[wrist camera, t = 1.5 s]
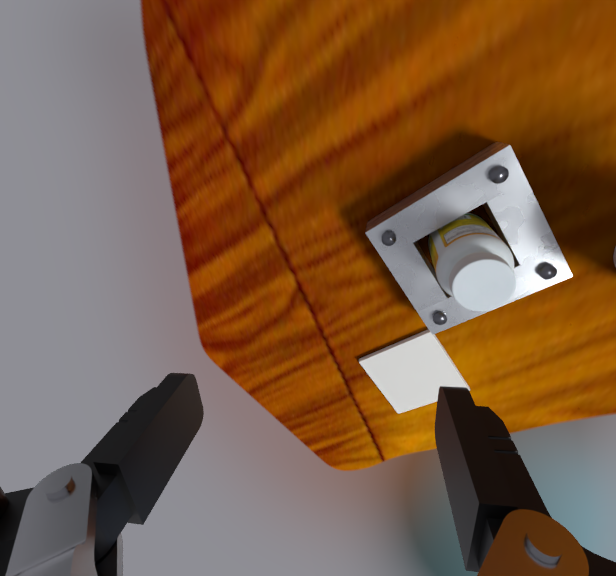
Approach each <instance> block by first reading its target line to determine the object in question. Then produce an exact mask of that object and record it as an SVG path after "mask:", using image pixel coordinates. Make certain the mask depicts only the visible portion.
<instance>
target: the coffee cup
mask: <svg viewBox="0 0 616 576" xmlns="http://www.w3.org/2000/svg"><path fill="white" fill-rule="evenodd" d="M613 260H614V265H615V267H616V247H615V250H614V255H613Z"/></svg>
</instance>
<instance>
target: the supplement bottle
mask: <svg viewBox="0 0 616 576" xmlns="http://www.w3.org/2000/svg"><path fill="white" fill-rule="evenodd" d="M428 246H429V251H430V255H431V258H432V262H433V265H434V269H435V272H436V276H437V279H438V282H439V284H440V285H441V287H442V288H443V290H444V291H445V292H447V293H448V294H449V295H451V296H452V297H454V299H455V300H456V301H457V302H458V303H459V304H460V305H461V306H463V307H464V308H466V309H469V310H472V311H489V310H493V309H496V308H498V307H500V306H502V305H503V304H505V303H506V302H507V301H508V300H509V299H510V298H511V296H512V295H513V293H514V291H515V288H516V277H515V274H514V259H513V255H512V253H511V251H510V249H509V248H508V246H507V245H506V244H505V243H504V242H503V241H502V240H501V239H500V237H499V236H498V235H497V234H496V233H495V232H494V231H493V230H492V229H491V228H490V226H489V225H488V224H487V223H486V222H485V221H484V220H483V219H482V218H480V217H479V216H477V215H474V214H471V213H466V214H464V215H462V216H460V217H459V218H457V219H455V220H453V221H451V222H449V223H448V224H446V225H444V226H442V227H440V228H439V229H437V230H435V231H433V232H431V233H430V235H429V240H428Z"/></svg>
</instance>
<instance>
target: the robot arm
mask: <svg viewBox="0 0 616 576" xmlns="http://www.w3.org/2000/svg"><path fill="white" fill-rule="evenodd" d="M202 420H203V406H202V402H201V398H200V394H199V389H198V385H197V382H196V378H195V376H194V375H193V374H184V373H170V374H168V375H167V376H166V377H165V379H164V380H163V381H162V382H161V383H160V384H159V386H158V387H157V388H156V387H154V388H152V389H151V390H149V391H148V392H146V393H145V394H143V395H142V396H141V397H139V398H138V399H137V401H136V402H135V403H134V404H133V405H132V406H131V407H130V408H129V410H128V412H126V413H125V414H124V415H123V416H122V417H121V418H120V419H119V422H118V423H116V424H115V425H114V426H113V427H112V428H111V429H110V431H109V432H108V433H107V434H106V435H105V436H104V437H103V439H102V440H101V441H100V442H99V443H98V444H97V445H96V446H95V447H94V448H93V450H92V451H91V452H90V453H89V454H88V455H87V456H86V457H85V459H84V460H83V461H82V462H81V463H76V464H70V465H67V466H64V467H62V468H60V469H57V470H56V471H54V472H52V473H51V474H49V475H48V476H46V477H45V478H44V479H42V480H41V481H40V482H39V483H38V484H37V485H36V486H35V487H34V488H30V489H25V490H20V491H16V492H10V493H4V492H3V490H2V489H1V487H0V576H123V541H122V535H121V531H122V530H123V528H124V527H125V525H126V524H127V522H128V523H134V524H142V525H143V524H144V522H145V521H146V519H147V517H148V515H149V514H150V512H151V510H152V509H153V507H154V505H155V503H156V502H157V500H158V498H159V497H160V495H161V493H162V491H163V490H164V488H165V486H166V485H167V483H168V481H169V479H170V478H171V476H172V474H173V473H174V471H175V469H176V468H177V466H178V464H179V462H180V461H181V459H182V457H183V456H184V454H185V452H186V450H187V449H188V447H189V445H190V443H191V442H192V440H193V438H194V437H195V435H196V433H197V432H198V430H199V428H200V426H201V423H202ZM435 439H436V446H437V450H438V454H439V459H440V463H441V467H442V471H443V476H444V479H445V484H446V488H447V492H448V497H449V501H450V505H451V509H452V514H453V518H454V522H455V526H456V531H457V535H458V539H459V543H460V547H461V551H462V556H463V560H464V564H465V569H466V570H467V571H474V572H479V573H478V575H477V576H616V562H613V561H611V560H608V559H606V558H603V557H601V556H599V555H597V554H594V553H592V552H591V551H589V550H587V549H585V548H584V547H582V546H581V545H580V544H579V543H578V541H577V540H576V539H575V537H574V536H573V535H572V534H571V533H570V532H569V531H568V530H567V529H566V528H565V527H563V526H562V525H561V524H560V523H558V522H557V521H555V520H554V519H552V517H551V516H550V514H549V513H548V511H547V509H546V507H545V505H544V503H543V501H542V499H541V497H540V495H539V493H538V491H537V489H536V487H535V485H534V483H533V481H532V479H531V477H530V475H529V473H528V471H527V469H526V467H525V465H524V463H523V461H522V459H521V457H520V455H518V451H517V448H516V447H515V444H514V443H513V441H511V437H510V434H509V432H508V430H507V428H506V426H505V424H504V422H503V421H502V420H501V419H500V418H499V417H498V416H497V415H496V414H495V413H494V412H493V411H492V410H491V409H490V408H489V407H483V406H475V404H474V401H473V399H472V397H471V394H470V392H469V390H468V388H466V387H446V386H440V388H439V392H438V401H437V411H436V420H435Z"/></svg>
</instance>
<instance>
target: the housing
mask: <svg viewBox="0 0 616 576" xmlns="http://www.w3.org/2000/svg"><path fill="white" fill-rule="evenodd" d="M480 205H483V207H484V209H485V211H486V212H487V214H488V216H489V218H490V220H491V222H492V224H493V226H494V227H495V229H496V231H497V233H498V235H499V237H500V239H501V240H502V241H503V242H504V243H505V244H506V245H507V246H508V248H509V249H510V251H511V253H512V255H513V259H514V274H515V277H516V288H515V291H514V293H513V295H512V296H511V298H510V299H509V300H508V301H507V302H506V303H505V304H503V305H506V304H508V303H510V302H513V301H515V300H518V299H520V298H522V297H525V296H527V295H530V294H532V293H535V292H537V291H539V290H542V289H544V288H547V287H549V286H551V285H554V284H556V283H559V282H561V281H563V280H566V279H568V278H571V277H573V275H572V273H571V271H570V269H569V267H568V264H567V262H566V260H565V258H564V256H563V254H562V252H561V250H560V248H559V246H558V244H557V241H556V239H555V237H554V235H553V233H552V231H551V229H550V227H549V225H548V223H547V221H546V219H545V216H544V214H543V212H542V210H541V208H540V206H539V204H538V202H537V200H536V198H535V196H534V193H533V191H532V189H531V187H530V185H529V183H528V181H527V179H526V177H525V175H524V173H523V171H522V168H521V166H520V164H519V162H518V160H517V158H516V156H515V154H514V152H513V150H512V148H511V145H509V144H505V143H500V142H495V143H493V144H491V145H490V146H488V147H487V148H485V149H483V150H482V151H480V152H479V153H477V154H475V155H474V156H472V157H471V158H469V159H467V160H466V161H464V162H463V163H461V164H459V165H458V166H456V167H454V168H453V169H451V170H450V171H448V172H446V173H445V174H443V175H442V176H440V177H438V178H437V179H435V180H434V181H432V182H430V183H429V184H427V185H426V186H424V187H422V188H421V189H419V190H418V191H416V192H414V193H413V194H411V195H409V196H408V197H406V198H405V199H403V200H401V201H400V202H398V203H397V204H395V205H393V206H392V207H390V208H389V209H387V210H385V211H384V212H382V213H381V214H379V215H377V216H376V217H374V218H373V219H371V220H369V221H368V222H367V226H366V231H365V233H366V235H367V236H368V238H369V240H370V241H371V243H372V244H373V246H374V247H375V249H376V250H377V252H378V253H379V255H380V256H381V258H382V259H383V261H384V262H385V264H386V265H387V267H388V268H389V270H390V271H391V273H392V274H393V276H394V277H395V279H396V280H397V282H398V284H399V285H400V287H401V288H402V290H403V291H404V293H405V294H406V296H407V297H408V299H409V300H410V302H411V303H412V305H413V306H414V308H415V309H416V311H417V312H418V314H419V315H420V317H421V318H422V320H423V321H424V323H425V324H426V326H427V327H428V329H429V331H430V332H431V334H432V335H433V334H436V333H438V332H440V331H443V330H445V329H448V328H450V327H453V326H455V325H457V324H460V323H462V322H465V321H467V320H469V319H472V318H474V317H477V316H479V315H481V314H484V313H486V312H489V311H491V310H489V311H472V310H469V309H466V308H464V307H463V306H461V305H460V304H459V303H458V302H457V301H456V300H455V299H454V297H452V296H451V295H449V294H448V293H447V292H445V291H444V290H443V288H442V287H441V285H440V284H439V282H438V279H437V276H436V272H435V270H434V268H433V267H432V265H431V264H430V262H429V260H428V259H427V257H426V255H425V254H424V252H423V251H422V249H421V247H420V246H419V244H418V242H417V240H419V239H421V238H422V237H424V236H426V235H428V234H430V233H431V232H433V231H435V230H437V229H439V228H440V227H442V226H444V225H446V224H448V223H449V222H451V221H453V220H455V219H457V218H459V217H460V216H462V215H464V214H466V213H468V212H469V211H471V210H473V209H475V208H477V207H478V206H480ZM503 305H502V306H503ZM500 307H501V306H500ZM493 310H494V309H493Z"/></svg>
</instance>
